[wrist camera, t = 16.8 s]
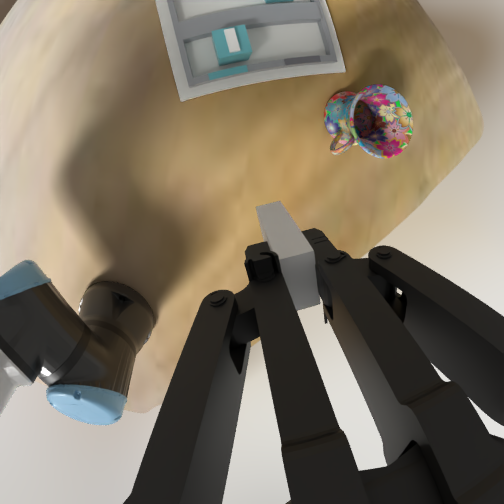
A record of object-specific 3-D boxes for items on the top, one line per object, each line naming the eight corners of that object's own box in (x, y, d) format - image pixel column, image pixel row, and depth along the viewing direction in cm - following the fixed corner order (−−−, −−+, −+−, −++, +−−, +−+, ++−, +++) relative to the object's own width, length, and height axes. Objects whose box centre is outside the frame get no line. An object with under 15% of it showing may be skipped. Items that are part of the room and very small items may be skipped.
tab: (218, 66, 30) (218, 57, 26) (212, 41, 29) (211, 29, 24) (248, 60, 30) (253, 50, 25) (241, 35, 29) (245, 23, 24)
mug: (350, 78, 34) (388, 71, 24) (383, 125, 37) (423, 132, 28) (293, 122, 36) (317, 124, 27) (330, 169, 40) (362, 186, 31)
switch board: (181, 102, 33) (178, 100, 30) (154, -8, 24) (149, -16, 21) (343, 72, 33) (352, 69, 30) (310, -31, 24) (316, -39, 21)
